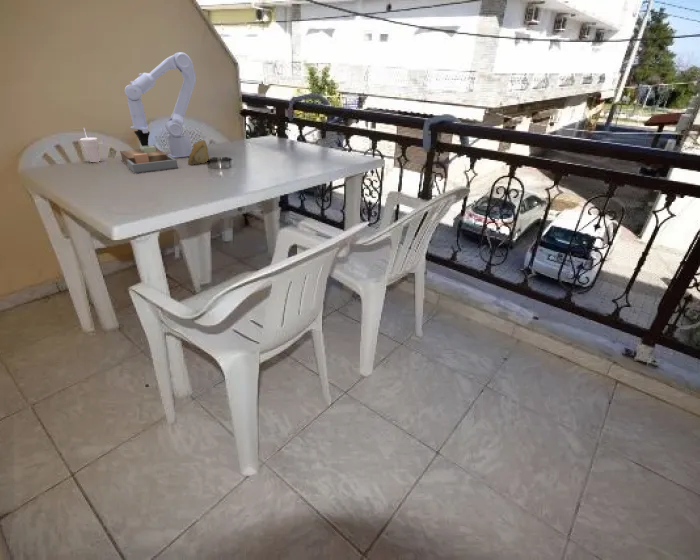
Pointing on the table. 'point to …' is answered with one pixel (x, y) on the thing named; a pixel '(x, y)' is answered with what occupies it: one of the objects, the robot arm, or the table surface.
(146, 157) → the terracotta tile
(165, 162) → the box
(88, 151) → the smoothie
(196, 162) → the rock
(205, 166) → the table surface
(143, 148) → the sage tile
